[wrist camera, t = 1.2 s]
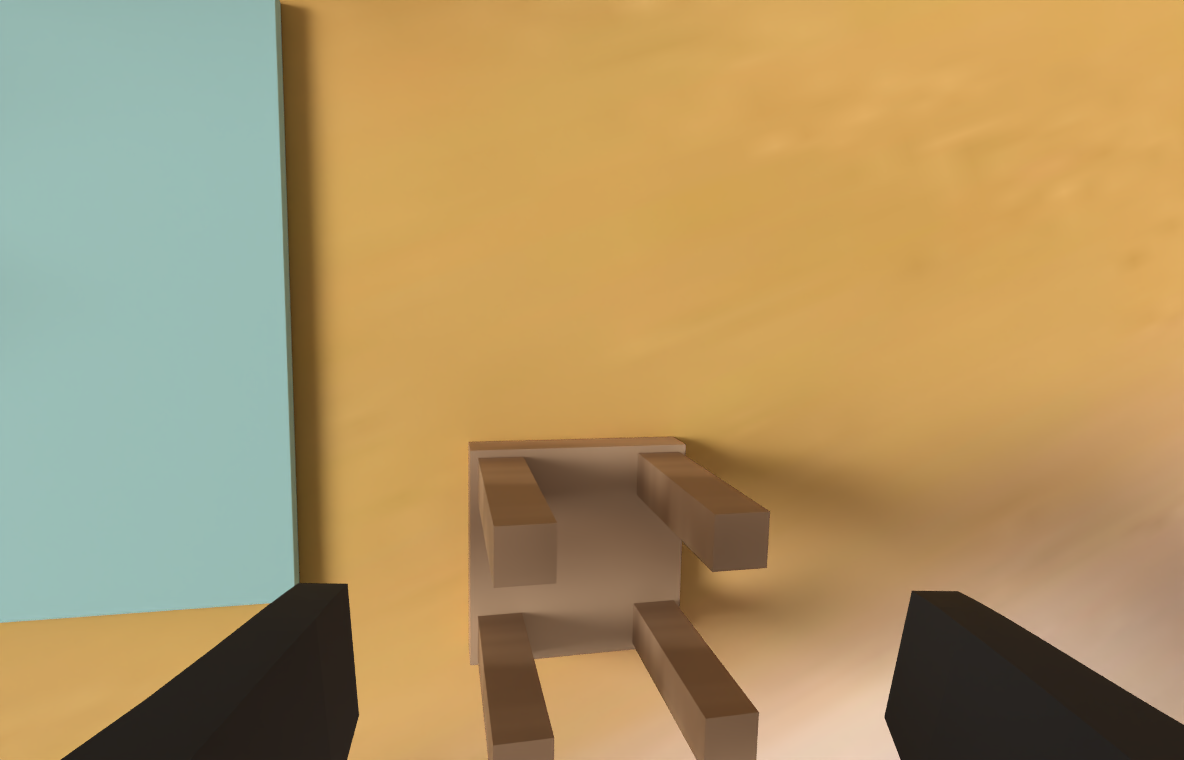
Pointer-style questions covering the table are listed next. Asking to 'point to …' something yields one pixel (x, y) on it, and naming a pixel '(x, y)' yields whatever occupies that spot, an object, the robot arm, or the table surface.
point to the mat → (144, 308)
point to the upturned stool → (601, 580)
